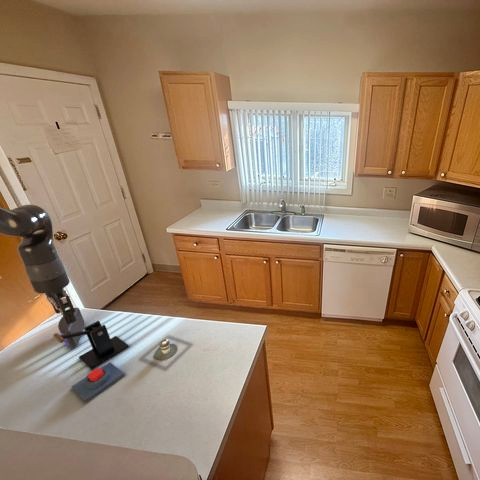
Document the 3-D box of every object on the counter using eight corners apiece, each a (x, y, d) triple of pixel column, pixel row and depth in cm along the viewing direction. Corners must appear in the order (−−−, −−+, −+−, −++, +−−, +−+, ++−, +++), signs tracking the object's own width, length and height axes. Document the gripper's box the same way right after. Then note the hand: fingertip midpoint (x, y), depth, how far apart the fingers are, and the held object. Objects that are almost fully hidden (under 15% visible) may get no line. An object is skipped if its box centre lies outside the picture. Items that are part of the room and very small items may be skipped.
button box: (85, 402, 79) (82, 396, 78) (72, 389, 83) (69, 382, 81) (124, 375, 88) (122, 369, 87) (111, 364, 91) (108, 358, 90)
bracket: (91, 370, 89) (79, 342, 84) (79, 359, 93) (67, 332, 88) (128, 347, 99) (120, 321, 94) (116, 338, 103) (107, 312, 97)
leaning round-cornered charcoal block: (71, 326, 107) (63, 308, 103) (86, 322, 109) (78, 305, 106) (61, 353, 94) (51, 334, 91) (77, 349, 97) (69, 330, 93)
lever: (59, 345, 81) (60, 337, 81) (52, 338, 83) (53, 331, 83) (103, 335, 92) (105, 329, 92) (96, 330, 94) (98, 323, 94)
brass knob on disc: (140, 359, 94) (137, 349, 92) (167, 336, 105) (165, 327, 103) (165, 369, 91) (162, 359, 89) (191, 345, 101) (189, 335, 99)
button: (93, 383, 82) (91, 379, 81) (87, 378, 83) (85, 374, 83) (106, 375, 85) (104, 371, 84) (100, 370, 86) (99, 366, 86)
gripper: (21, 271, 74) (41, 314, 81) (37, 287, 68) (59, 333, 74) (55, 261, 80) (72, 302, 87) (73, 275, 74) (90, 319, 80)
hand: (66, 317), depth 81 cm, fingers open, 8 cm apart
